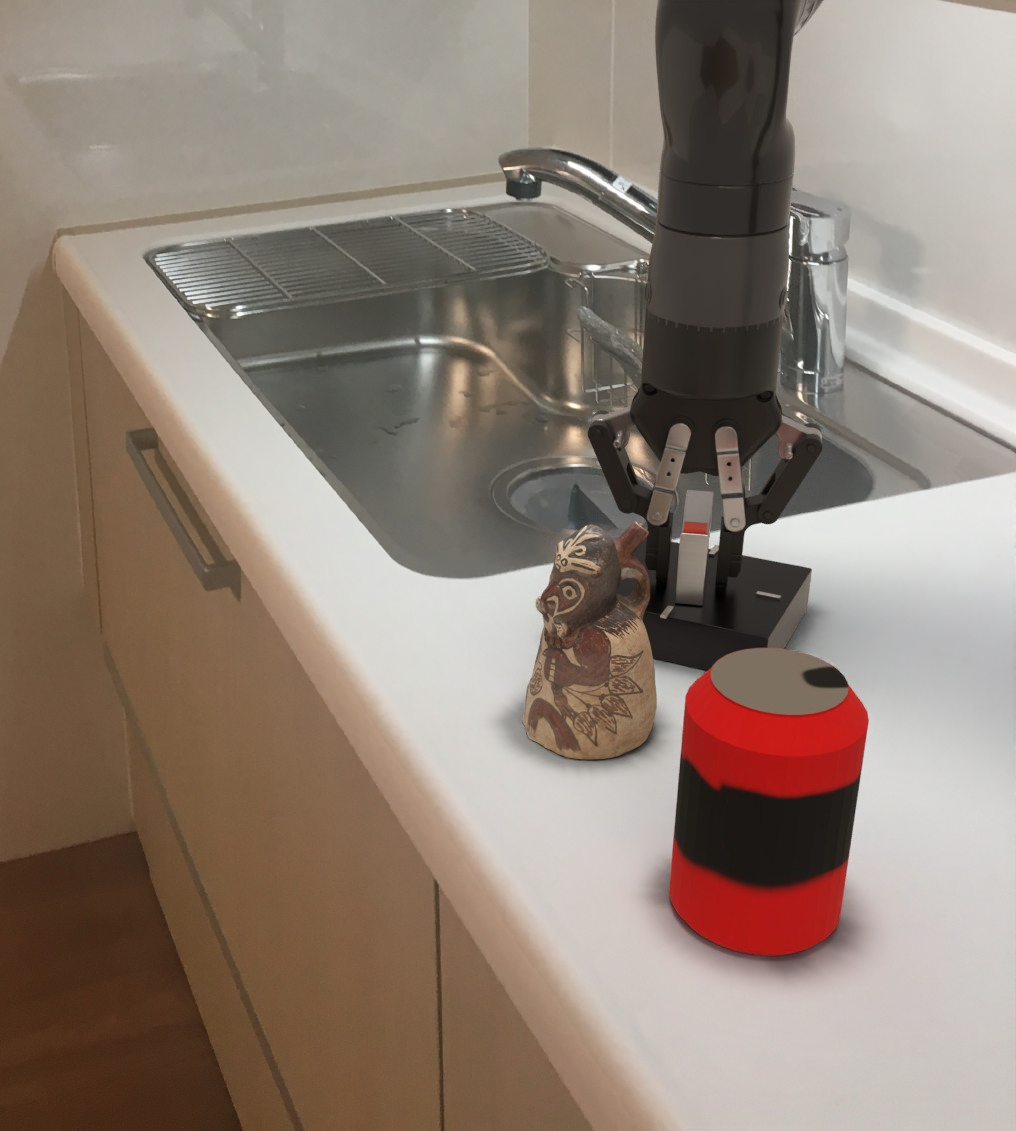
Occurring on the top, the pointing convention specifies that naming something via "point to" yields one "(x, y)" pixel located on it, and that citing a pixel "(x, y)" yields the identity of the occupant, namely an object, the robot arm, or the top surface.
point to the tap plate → (723, 609)
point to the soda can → (766, 800)
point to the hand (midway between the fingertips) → (691, 575)
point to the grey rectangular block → (694, 547)
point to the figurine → (593, 650)
